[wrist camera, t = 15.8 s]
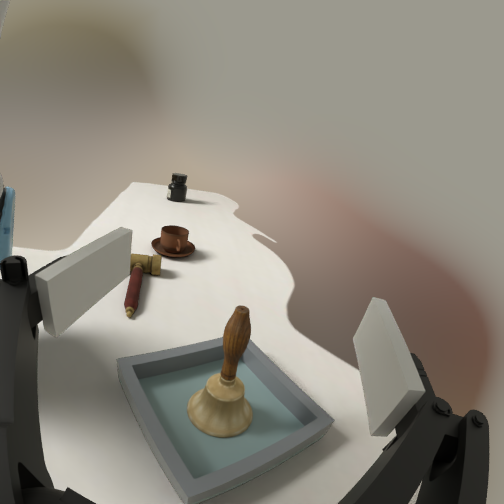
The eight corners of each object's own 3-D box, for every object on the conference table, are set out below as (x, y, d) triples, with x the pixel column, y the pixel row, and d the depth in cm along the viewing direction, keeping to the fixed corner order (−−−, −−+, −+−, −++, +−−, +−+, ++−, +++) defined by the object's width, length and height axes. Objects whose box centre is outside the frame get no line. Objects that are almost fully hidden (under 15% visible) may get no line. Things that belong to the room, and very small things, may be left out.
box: (118, 378, 33) (116, 358, 32) (238, 350, 46) (243, 332, 44) (186, 507, 19) (188, 497, 18) (322, 436, 31) (334, 420, 30)
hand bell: (181, 431, 28) (193, 327, 22) (191, 383, 35) (207, 281, 30) (252, 442, 28) (294, 345, 23) (252, 393, 36) (284, 295, 31)
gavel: (157, 308, 46) (100, 302, 43) (156, 328, 48) (102, 322, 45) (162, 251, 64) (120, 247, 61) (160, 268, 66) (120, 264, 63)
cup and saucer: (202, 257, 78) (206, 235, 76) (165, 264, 69) (168, 240, 67) (178, 241, 85) (181, 221, 82) (143, 245, 76) (145, 224, 74)
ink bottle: (170, 196, 135) (174, 172, 131) (187, 199, 135) (191, 175, 131) (163, 199, 126) (167, 174, 122) (181, 203, 126) (185, 177, 122)
